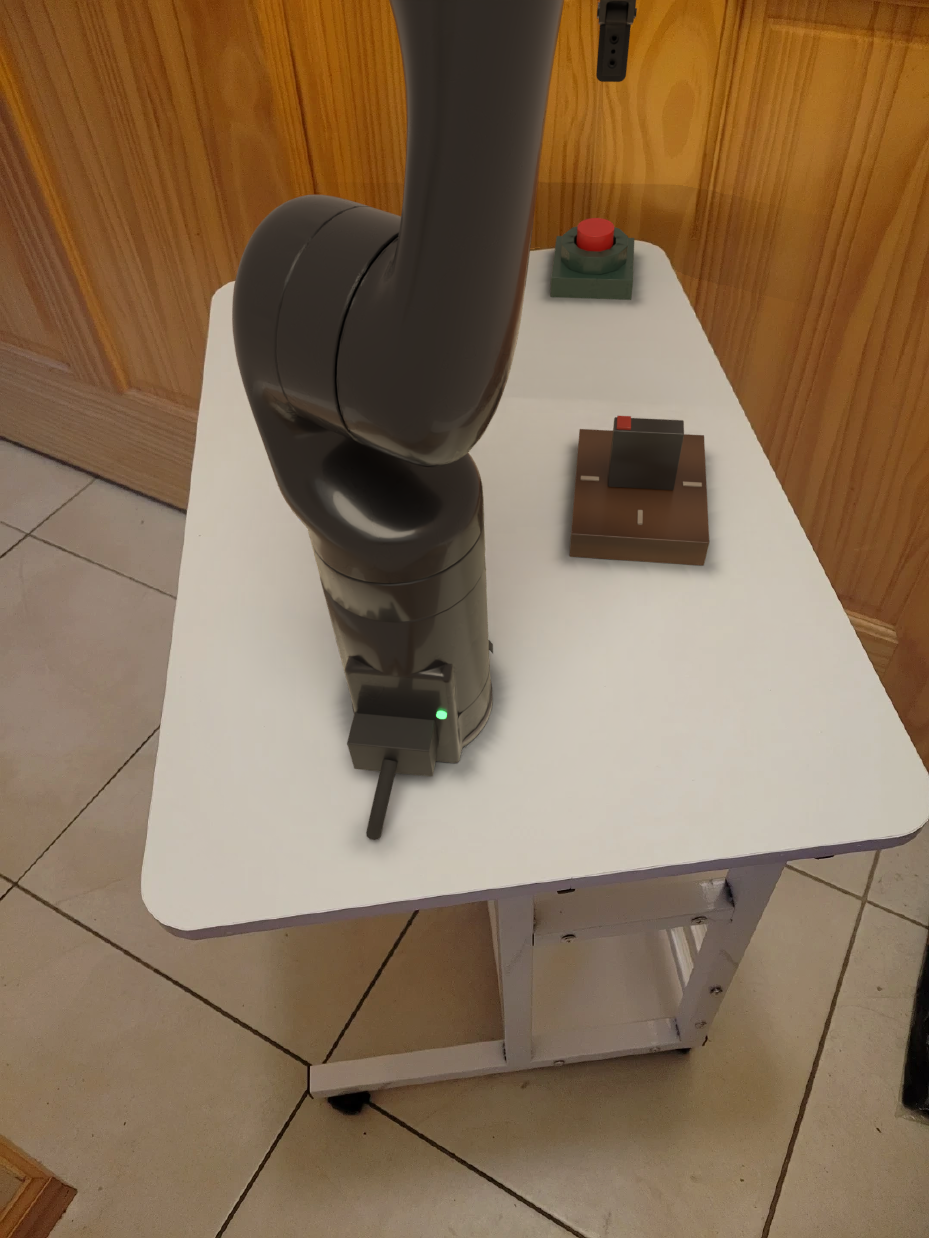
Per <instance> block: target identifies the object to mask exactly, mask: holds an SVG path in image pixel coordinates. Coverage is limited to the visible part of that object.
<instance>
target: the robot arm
mask: <svg viewBox="0 0 929 1238" xmlns="http://www.w3.org/2000/svg"><path fill="white" fill-rule="evenodd" d="M388 2H389V5H390V8H391V12H392V16H393V19H394V23H395V29H396V33H397V37H398V38H397V39H398V44H399V49H400V54H401V62H402V70H403V78H404V79H403V80H404V91H405V108H406V137H405V166H404V182H403V195H402V204H401V215H398V214H396V213H392V212H389V211H386V210H382V209H379V208H376V207H373V206H370V205H367V204H364V203H360V202H357V201H354V200H350V199H346V198H342V197H339V196H335V195H327V194H317V193H316V194H314V193H313V194H306V195H302V196H297V197H294V198H291V199H289V200H287V201H285V202H283V203H281V204H279V205H277V207H275V208H274V209H273V210H272V211H270V212H269V213H268V214H267V215H266V216H265V217H264V218H263V219H262V220H261V221H260V223H259V224H258V225H257V226H256V228H255V229H254V231H253V233H252V234H251V236H250V237H249V239H248V241H247V243H246V245H245V247H244V249H243V252H242V255H241V257H240V260H239V264H238V267H237V272H236V274H235V280H234V284H233V291H232V292H233V294H232V308H231V309H232V310H231V321H232V322H231V324H232V325H231V326H232V337H233V338H232V339H233V345H234V351H235V356H236V362H237V366H238V370H239V374H240V377H241V381H242V385H243V389H244V391H245V394H246V398H247V401H248V403H249V408H250V410H251V413H252V416H253V419H254V421H255V425H256V428H257V429H258V432H259V433H258V434H259V435H260V438H261V441H262V444H263V447H264V450H265V453H266V455H267V458H268V461H269V463H270V466H271V469H272V472H273V473H272V474H273V476H274V478H275V481H276V483H277V487H278V490H279V492H280V494H281V495H282V498H283V499H284V501H285V503H286V504H287V506H288V507H289V508H290V510H291V511H292V513H293V514H294V515H295V516H296V517H297V519H299V521H300V522H301V523H302V524H303V525H304V526H305V528H306V529H307V532H308V537H309V539H310V545H311V548H312V551H313V555H314V559H315V563H316V567H317V571H318V575H319V581H320V583H321V587H322V593H323V595H324V599H325V603H326V608H327V610H328V614H329V618H330V622H331V626H332V630H333V634H334V638H335V643H336V645H337V646H336V647H337V649H338V653H339V657H340V661H341V664H342V668H343V672H344V677H345V680H346V684H347V688H348V691H349V695H350V699H351V707H352V712H353V718H352V722H351V726H350V730H349V733H348V737H347V742H346V745H347V748H348V752H349V755H350V759H351V762H352V765H353V769H354V770H360V771H361V770H362V771H370V772H371V771H373V772H379V775H378V779H377V783H376V787H375V792H374V796H373V800H372V805H371V808H370V809H371V810H370V814H369V817H368V823H367V827H366V832H365V834H366V837H367V838H368V839H369V840H371V841H377V840H380V838H381V837H382V833H383V829H384V825H385V819H386V816H387V812H388V807H389V804H390V803H389V802H390V798H391V794H392V789H393V784H394V782H395V776H396V774H402V775H411V776H421V777H434V774H435V773H434V772H435V766H436V762H441V763H452V764H455V763H458V762H460V759H461V754H462V750H463V748H464V747H466V746H467V745H468V744H470V743H471V742H472V741H473V740H475V738H476V737H477V736H479V734H480V733H481V732H482V730H483V729H484V727H485V725H486V724H487V723H488V720H489V718H490V716H491V712H492V709H493V708H492V707H493V698H494V697H493V696H494V695H493V684H492V680H491V659H490V653H491V654H493V655H494V643H493V642H492V641H491V640H490V639H489V615H488V614H489V613H488V591H487V587H488V586H487V564H486V533H485V532H486V531H485V530H486V529H485V503H484V501H485V500H484V490H483V489H484V488H483V487H484V486H483V481H482V477H481V472H480V470H479V468H478V466H477V464H476V462H475V460H474V458H473V457H472V454H470V451H471V450H472V449H473V448H474V447H475V446H476V445H477V443H478V442H479V441H480V440H481V438H482V437H483V436H484V434H485V433H486V430H487V429H488V427H489V425H490V424H491V421H492V419H493V418H494V416H495V414H496V412H497V409H498V408H499V405H500V402H501V400H502V398H503V394H504V391H505V388H506V386H507V383H508V379H509V377H510V376H509V375H510V372H511V369H512V365H513V360H514V356H515V354H516V353H515V352H516V348H517V344H518V338H519V333H520V328H521V321H522V316H523V315H522V313H523V308H524V302H525V301H524V300H525V293H526V286H527V278H528V271H529V263H530V254H531V246H532V245H531V244H532V236H533V228H534V221H535V212H536V204H537V196H538V187H539V180H540V172H541V162H542V154H543V145H544V137H545V128H546V120H547V111H548V106H549V97H550V96H549V95H550V89H551V81H552V74H553V69H554V68H553V67H554V63H555V62H554V61H555V55H556V51H557V45H558V39H559V32H560V26H561V20H562V16H563V11H564V4H565V0H388ZM636 5H637V0H599V1H598V2H597V9H596V10H597V11H596V19H597V20H598V26H599V33H598V45H597V46H598V47H597V58H596V59H597V61H596V74H595V76H596V80H597V81H599V82H602V83H621V82H623V81H624V80H625V79H626V77H627V71H628V70H627V69H628V59H629V49H630V48H629V47H630V38H631V27H632V25H633V24H634V21H635V20H636V18H637V14H638V13H637V11H638V8H637V7H636Z"/></svg>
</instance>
